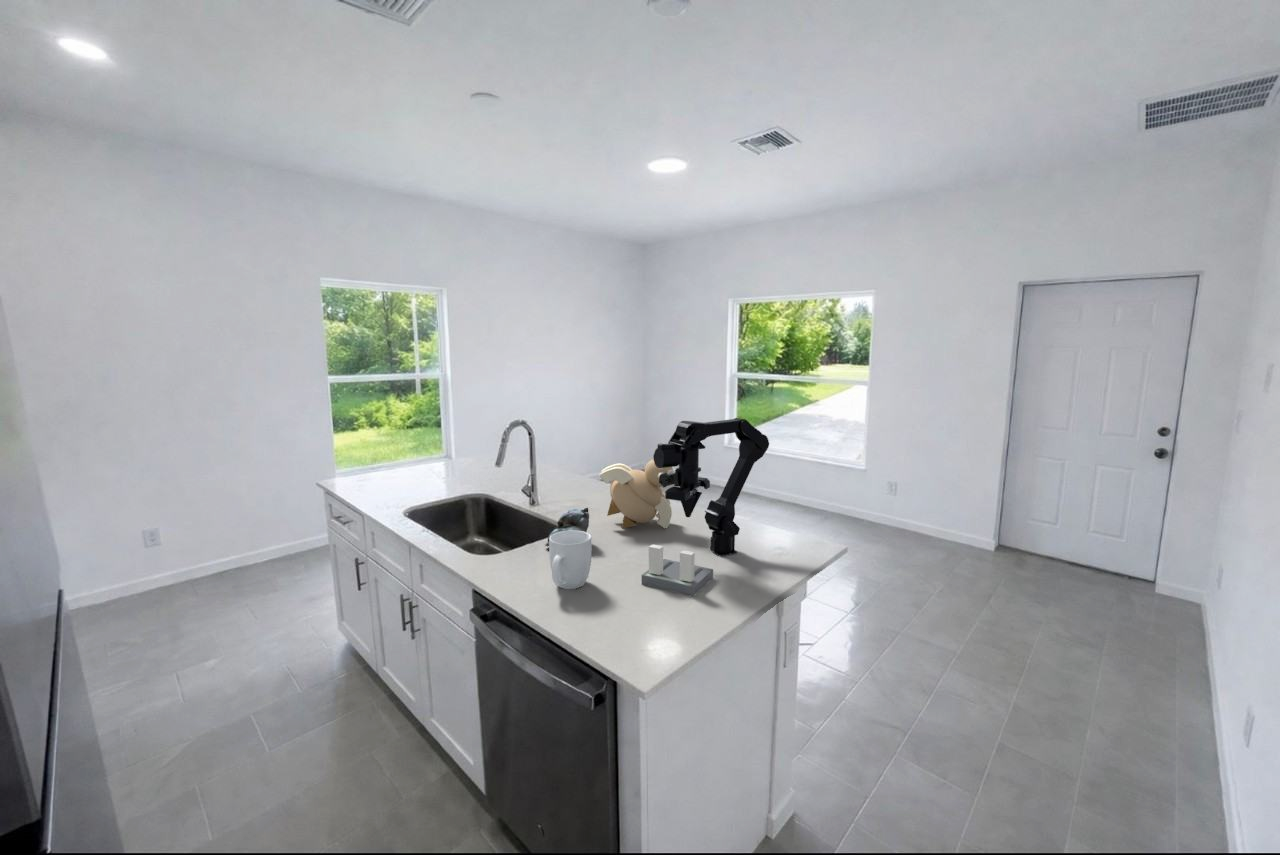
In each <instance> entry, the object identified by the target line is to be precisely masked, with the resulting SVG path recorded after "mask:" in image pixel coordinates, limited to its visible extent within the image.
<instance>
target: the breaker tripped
mask: <svg viewBox="0 0 1280 855" xmlns="http://www.w3.org/2000/svg"><path fill="white" fill-rule="evenodd" d="M663 559H664V546H663V545H658V544H653V543H652V544H651V545H650V546H648V570H649V573H652V574H657V575H660V574H662V573H663Z"/></svg>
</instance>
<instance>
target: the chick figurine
mask: <svg viewBox="0 0 1280 855" xmlns="http://www.w3.org/2000/svg"><path fill="white" fill-rule="evenodd" d="M664 473H667V474H671V473H675V470H674V469H673V467H666V468H657V467H656V465H655V463H654V458H653V459H651V460H649V461H648V462H647V464H646V465H645V468H644V471H643V470H641V469H632V468H631V467H630V466H628V465H626V464H624V463H620V462H619V463H614V464H611V465H608V466H606V467H605V468H603V469H601V472H600V473H599V474H598V477H599V478H600V479H601V480H602V481H604V483H605V484H608V483H610V482H611V483H610V486H609V495H610V497H611V500H610V502H609V507H608V510H607V511H608V512H607V517H608V516H612V515H616V514H620V513H621V514H622V515H623V518H622V524H621V529H625V528H629V527H634V526H636V525H637V523H641V524H643V523H648V522H651V521H652V520H653V519H654V518H658V519H657V521H656V523H657V524H658V525H659V526H661V527H662V529H663V528H664V529H665V528H667V529H668V527H669V525H670V523H671V520H672V515H673V514H672V513H673V512H672V507H671V501H670V499H666V498H665V492H663V490H662V488H663V486H662V485H661V484H660V483H659V477H660V474H664Z"/></svg>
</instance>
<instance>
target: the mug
mask: <svg viewBox="0 0 1280 855" xmlns="http://www.w3.org/2000/svg"><path fill="white" fill-rule="evenodd" d="M592 547H593V546H592V535H591V534H590V533H588V532H584V531H576V530H569V531H561V532H557V533H555V534H553V535H551V536H550V538H549V547H548V548H549V550H548V552H549V563H550V564H549V565H550V570H551V578H552V581H553V583H554V585H556V586H557V587H559V588H561V589H563V588H564V589H563V590H576V588H577V589H580V588H581V586H582V587H583V586H584V585H585V583H586V581H587V580H588V578H589V574H590V571H591V565H592V554H593V552H592V551H593V550H592ZM579 587H580V588H579Z"/></svg>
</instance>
